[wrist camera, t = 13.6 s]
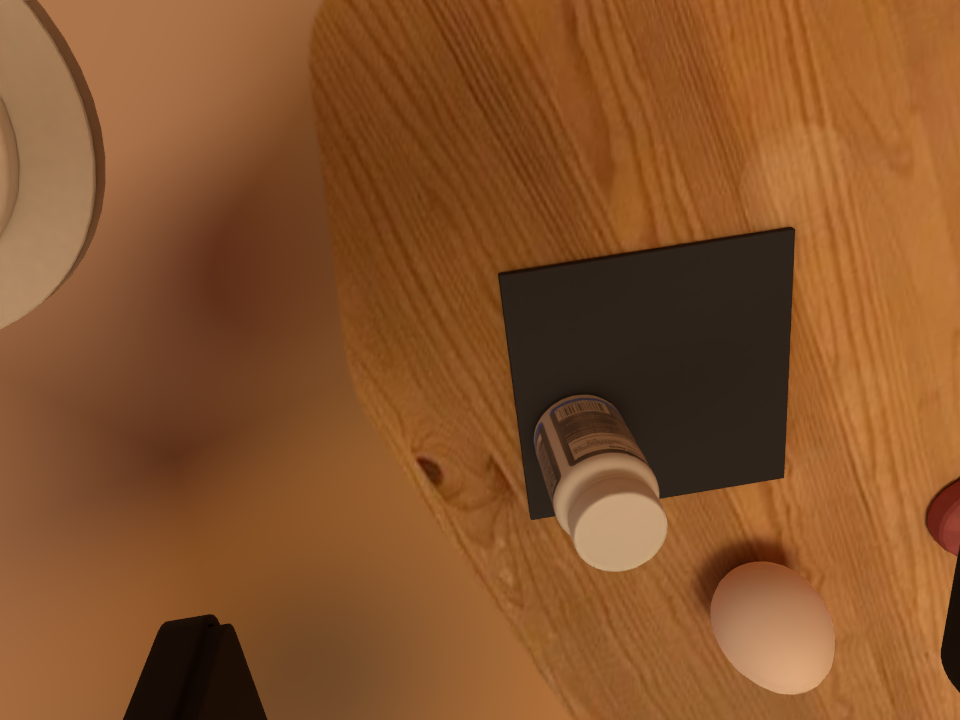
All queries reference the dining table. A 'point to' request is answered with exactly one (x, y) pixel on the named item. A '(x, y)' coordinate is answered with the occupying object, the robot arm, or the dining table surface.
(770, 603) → the egg
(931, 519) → the popsicle
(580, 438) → the pill bottle
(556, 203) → the dining table surface
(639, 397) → the slate mat
